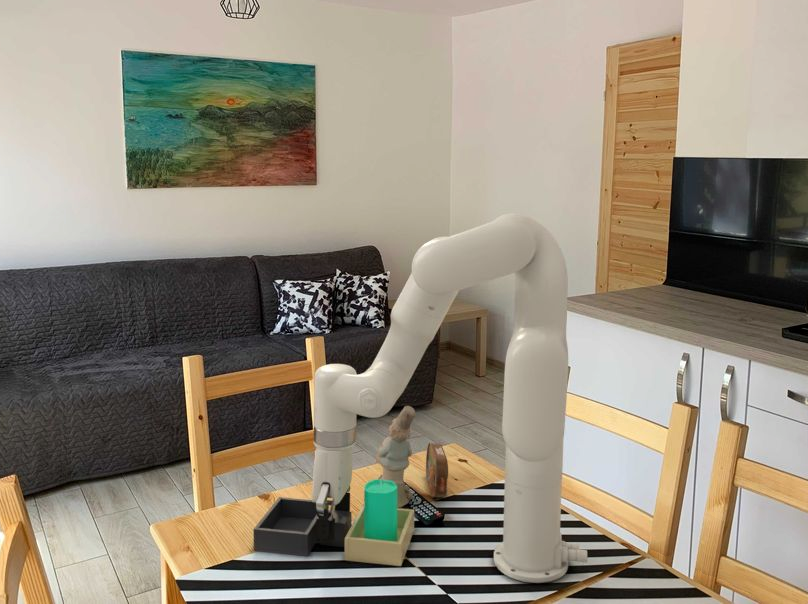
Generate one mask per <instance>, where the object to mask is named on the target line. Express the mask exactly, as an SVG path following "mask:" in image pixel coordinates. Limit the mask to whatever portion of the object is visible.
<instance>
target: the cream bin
mask: <svg viewBox="0 0 808 604" xmlns="http://www.w3.org/2000/svg"><path fill="white" fill-rule="evenodd" d="M414 532H415V509H414V508H413V509H412V508H402V507H399V508H397V542H395V541H385V540H375V539H365V538H364V504H362V505H361V507H360V508H359V511H358V513H357V515H356V516H355V518H354V520H353V522H352V526H351V528H350V530H349V531H348V533H347V535H346V537H345V548H344V561H347V562H357V563H365V564H366V563H367V564H375V565H384V566H385V565H386V566H394V567H395V566H396V567H402V565H403V563H404V560H405V556H406V554H407V551H408V548H409V545H410V543H411V540H412V537H413V534H414Z"/></svg>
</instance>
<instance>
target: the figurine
mask: <svg viewBox="0 0 808 604" xmlns="http://www.w3.org/2000/svg"><path fill="white" fill-rule="evenodd" d="M415 417H416V410H415V408H413V407H412V406H410V405H405V406H404V407H403V409H402V410H401V411H400V413H399V414H398V416H397V417H395V418H394V419H392V424H390V425H389V427H388V429H389V430H388V431H389V435H388V436H387V437H385V438H384V439H383V440H382V442H381V443H380V444H379V447H378V449H377V451H376V453H377V454H376V456H375V463H377V464H379V465H380V466H381V467H382V474H380V475H379V476H378V478H377V479H380V478H381V480H386V481H393V482H394V483H395V484H396V485H397V508H402V507H404V506H405V505H407V504H408V503H409V501H410V500H411V499H413V498H414V493H413V492H412V491H411V490H410V489H411V488H410V486H409V485H406V483H405V482H404V474H405V470H406V469H407V468H409V466H410V460H409V457H412V454H413V451H412V447H411V443H410V440H409V438H410V437H411V425H412V423H413V421H414V419H415ZM412 496H413V497H412ZM407 497H408V498H407Z"/></svg>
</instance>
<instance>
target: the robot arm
mask: <svg viewBox="0 0 808 604" xmlns="http://www.w3.org/2000/svg"><path fill="white" fill-rule="evenodd" d="M513 273H514V277H515V278H514V279H515V280H514V281H515V282H514V283H515V285H514V286H515V289H514V313H513V328H512V335H511V338H510V340H509V344H508V347H507V350H506V354H505V360H504V374H503V375H504V376H503V377H504V378H503V399H502V400H503V401H502V417H501V418H502V419H501V433H502V437H503V440H504V443H505V458H504V459H505V460H504V491H503V492H504V493H503V494H504V495H503V501H504V502H503V527H502V529H503V533H502V534H503V535H502V542H501V543H500V544H498V545H497V546H496V547H495V549H494V551H493V563H494V565H495V567H496V568H497V570H498V571H500V572H501V573H502V574H504V575H505V576H507V577H508V578H511V579H514V580H516V581H520V582H524V583H528V584H529V583H530V584H532V583H533V584H545V583H549V582H553V581H557V580H559V579H561V578H562V577H563V576H564V575H565V574H566V573H567V571H568V569H569V561H573V562H577V563H588V550H587V549H580V543H576V542H566V541H565V540H563V539H562V532H561V517H562V490H563V489H562V487H563V466H564V465H563V464H564V438H565V426H566V415H567V413H566V411H567V399H568V382H569V381H568V380H569V348H568V347H569V346H568V342H567V341H568V340H567V321H568V285H569V284H568V269H567V263H566V259H565V256H564V253H563V251H562V248H561V247H560V244H559V243H558V241H557V239H556V238H555V236H554V235H553V234H552V233H551V232H550V231H549V230H548V229H547V228H546V227H544V225H542V224H541V223H539V222H538V221H536V220H535V219H533V218H531V217H530V216H527V215H525V214H522V213H513V212H511V213H506V214H502V215H500V216H499V217H497V218H495V219H494V220H492V221H490V222H487V223H484V224H482V225H479V226H476V227H473V228H470V229H468V230H464V231H462V232H459V233H456V234H453V235H450V236H446V235H445V236H444V235H443V236H438V237H434V238H433V239H431V240H429V241H427V242H426V243H424V244H423V245H421V246H420V247H419V248H418V249H417V251H416V253H415V254H414V256H413V258H412V262H411V273H410V275H409V277H408V279H407V280H406V283H405V285H404V286H403V288H402V290H401V292H400V293H399V296H398V297H397V299H396V301H395V303H394V305H393V307H392V309H391V312H390V326H389V329H388V333H387V334H386V337H385V340H384V341H383V344H382V345H381V347H380V349H379V351H378V353H377V355H376V357H375V358H374V360H373V362H372V364H370V366H369V367H368V368H367V369H366V370H365V371H364V372H362V373H360V374H359V373H357V370H356V369H355V368H354V367H352V366H351V365H349V364H344V363H329V364H325V365H322V366H319V367H318V368H317V369H316V370H315V372H314V376H313V445H314V447H316V448H315V453H314V460H313V470H312V487H311V500H312V501H313V503H316V509H317V510H316V511H317V512H316V538H317V539H318V540H319V541H321V540H327V541H333V540H334V539H335V518H333V516H334V510H337V511H348V512H351V492H350V491H351V483H352V478H353V447H354V446H355V445H356V444H357V417H358V416H361V417H365V418H370V419H371V418H372V419H376V418H381V417H383V416H386V415H387V414H388V413H389V412H390V411H391V410H392V408H393V407H394V405H396V403H397V401H398V399H399V398H400V397H401V396H402V394H403V393H404V392H405V389H406V388H407V386H408V384H409V382H410V380H411V379H412V377H413V375H414V374H415V371H416V369H417V368H418V365H419V364H420V362H421V360H422V358H423V356H424V354H425V352H426V350H427V349H428V347H429V345H430V344H431V343H432V342H433V340H434V338H435V336H436V334H437V333H438V332H439V331H438V330H439V329H440V327H441V325H442V323H443V322H444V320H445V318H446V316H447V314H448V312H449V310H450V308H451V306H452V304H453V303H454V300H455V299H456V297H457V295H458V293H459V292H460V291H462V290H466V289H468V288H471V287H475V286H478V285H480V284H484V283H486V282H489V281H493V280H496V279H499V278H503V277H505V276H509V275H512V274H513ZM357 415H358V416H357ZM326 505H329V510H330V512H329V511H328V509H325V508H326Z"/></svg>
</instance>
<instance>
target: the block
mask: <svg viewBox="0 0 808 604" xmlns="http://www.w3.org/2000/svg"><path fill="white" fill-rule="evenodd" d="M328 511H329V512H330V509H329V510H328ZM352 517H353V515H352V511H350V512H348V511H337V510H334V516H333V518H335V539H334V540H333V541H327V540H320V546H325V547H336V548H344V549H345V537H346V535H347V533H348V531H349V530H350V528H351V526H352V524H353V522H352Z"/></svg>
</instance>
